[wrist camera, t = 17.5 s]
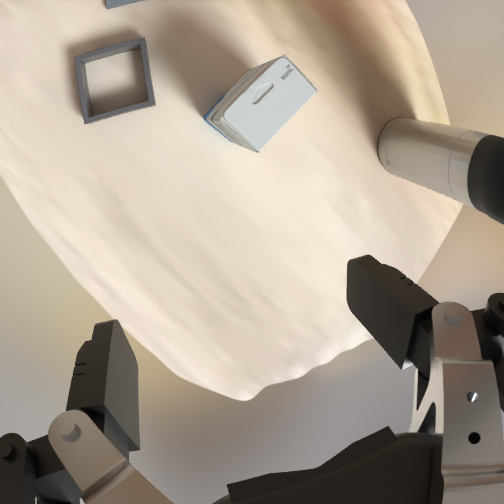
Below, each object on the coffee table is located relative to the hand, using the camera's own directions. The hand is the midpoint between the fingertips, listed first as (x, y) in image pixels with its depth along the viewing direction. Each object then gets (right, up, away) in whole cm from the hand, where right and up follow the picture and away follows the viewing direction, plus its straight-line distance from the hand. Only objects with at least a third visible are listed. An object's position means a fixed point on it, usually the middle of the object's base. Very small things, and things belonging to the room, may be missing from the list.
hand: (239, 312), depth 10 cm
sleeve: (-15, +22, +20) cm, 33 cm away
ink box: (-1, +20, +25) cm, 32 cm away
